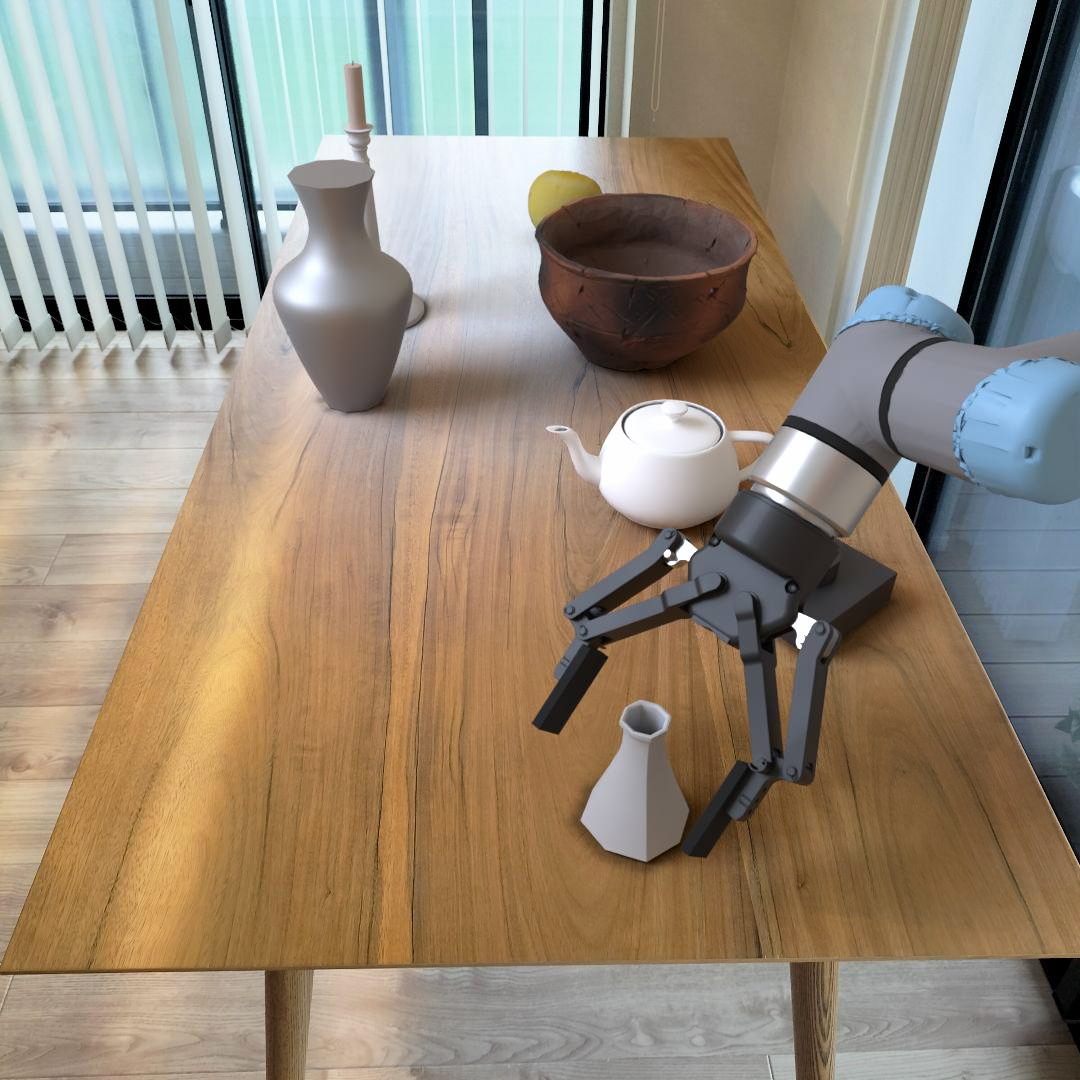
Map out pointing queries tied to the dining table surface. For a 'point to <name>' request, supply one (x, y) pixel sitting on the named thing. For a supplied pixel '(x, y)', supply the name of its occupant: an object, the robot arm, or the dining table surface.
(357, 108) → the candlestick
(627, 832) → the flask
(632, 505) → the teapot
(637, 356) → the bowl
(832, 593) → the button box
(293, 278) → the vase
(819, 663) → the robot arm
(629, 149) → the dining table surface
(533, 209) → the fruit
